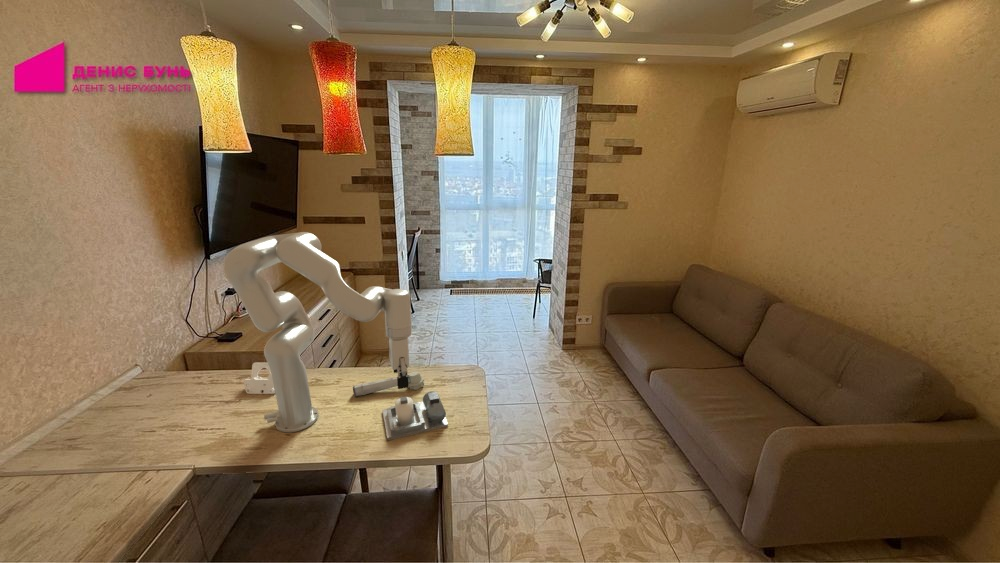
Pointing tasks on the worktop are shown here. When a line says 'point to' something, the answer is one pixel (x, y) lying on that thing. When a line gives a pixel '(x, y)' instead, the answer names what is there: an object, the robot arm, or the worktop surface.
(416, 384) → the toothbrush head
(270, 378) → the mounting bracket
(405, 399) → the cylinder
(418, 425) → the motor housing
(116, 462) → the worktop surface
